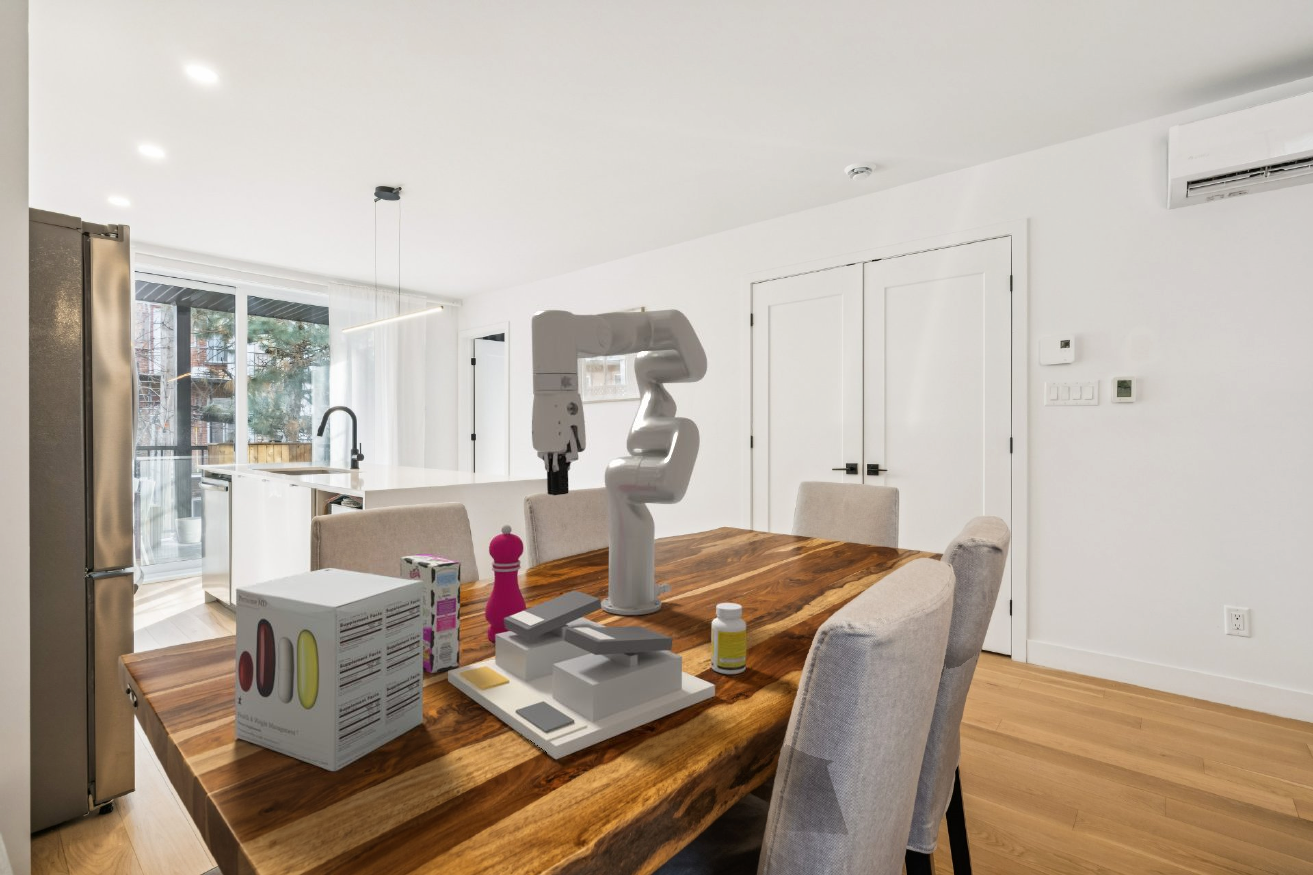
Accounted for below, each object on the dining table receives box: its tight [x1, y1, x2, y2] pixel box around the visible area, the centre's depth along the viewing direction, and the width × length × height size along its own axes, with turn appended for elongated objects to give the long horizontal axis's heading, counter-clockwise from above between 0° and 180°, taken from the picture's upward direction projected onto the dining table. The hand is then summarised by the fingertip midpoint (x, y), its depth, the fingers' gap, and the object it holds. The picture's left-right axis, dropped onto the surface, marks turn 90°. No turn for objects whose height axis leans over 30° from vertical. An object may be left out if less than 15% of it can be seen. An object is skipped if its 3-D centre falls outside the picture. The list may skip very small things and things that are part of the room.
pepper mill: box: [484, 524, 527, 643], centre depth 111 cm, size 7×7×20 cm
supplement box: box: [234, 567, 424, 772], centre depth 76 cm, size 17×13×18 cm
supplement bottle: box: [710, 602, 747, 675], centre depth 97 cm, size 5×5×10 cm
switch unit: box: [447, 617, 716, 760], centre depth 89 cm, size 26×29×8 cm
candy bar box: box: [399, 553, 461, 675], centre depth 99 cm, size 11×5×16 cm, turn 47°
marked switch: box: [504, 589, 603, 640], centre depth 96 cm, size 13×7×2 cm, turn 132°
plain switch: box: [564, 625, 674, 655], centre depth 84 cm, size 13×7×2 cm, turn 132°
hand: (558, 493), depth 106 cm, fingers closed
